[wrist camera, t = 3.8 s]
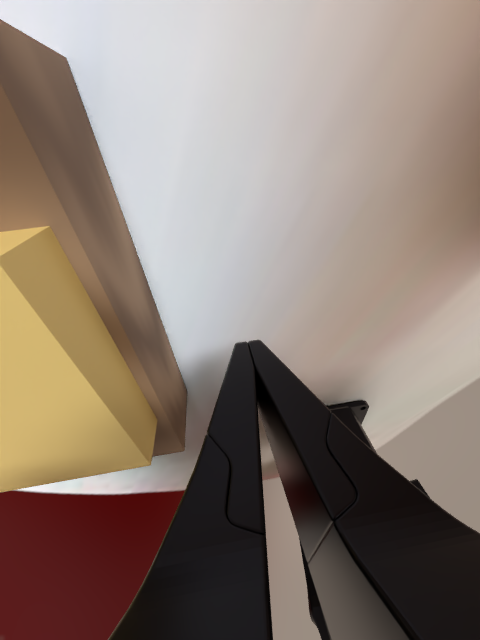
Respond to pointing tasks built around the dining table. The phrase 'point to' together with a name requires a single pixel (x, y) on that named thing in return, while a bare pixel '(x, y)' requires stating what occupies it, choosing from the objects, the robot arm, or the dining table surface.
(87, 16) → the dining table surface
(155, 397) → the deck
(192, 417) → the dining table surface
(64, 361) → the yellow flat block
